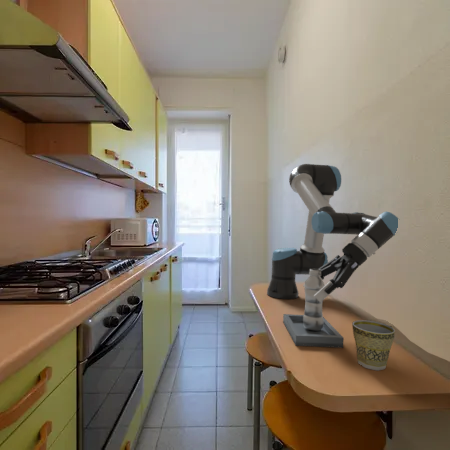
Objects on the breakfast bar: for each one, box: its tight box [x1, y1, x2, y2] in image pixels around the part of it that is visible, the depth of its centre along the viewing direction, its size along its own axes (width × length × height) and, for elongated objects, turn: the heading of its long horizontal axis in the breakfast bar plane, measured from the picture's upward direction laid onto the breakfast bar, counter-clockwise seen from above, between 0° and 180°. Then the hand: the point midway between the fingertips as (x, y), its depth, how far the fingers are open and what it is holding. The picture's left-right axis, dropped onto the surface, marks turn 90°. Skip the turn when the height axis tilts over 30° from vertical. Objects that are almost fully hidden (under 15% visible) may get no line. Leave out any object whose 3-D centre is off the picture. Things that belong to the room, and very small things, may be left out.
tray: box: [282, 313, 345, 349], centre depth 98 cm, size 20×14×3 cm
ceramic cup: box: [352, 319, 396, 371], centre depth 79 cm, size 13×10×10 cm
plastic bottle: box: [303, 269, 326, 331], centre depth 99 cm, size 6×7×20 cm
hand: (310, 293), depth 98 cm, fingers open, 13 cm apart
